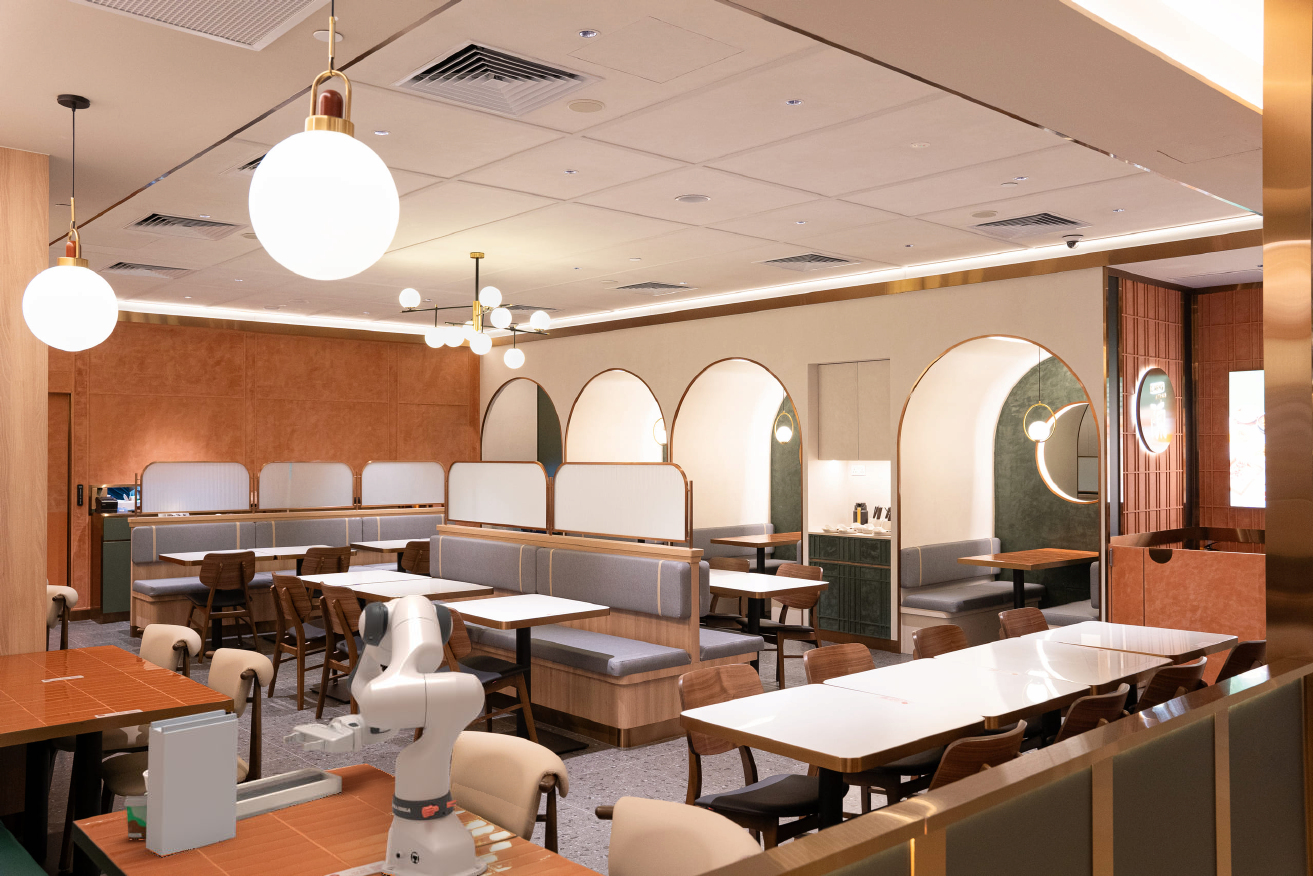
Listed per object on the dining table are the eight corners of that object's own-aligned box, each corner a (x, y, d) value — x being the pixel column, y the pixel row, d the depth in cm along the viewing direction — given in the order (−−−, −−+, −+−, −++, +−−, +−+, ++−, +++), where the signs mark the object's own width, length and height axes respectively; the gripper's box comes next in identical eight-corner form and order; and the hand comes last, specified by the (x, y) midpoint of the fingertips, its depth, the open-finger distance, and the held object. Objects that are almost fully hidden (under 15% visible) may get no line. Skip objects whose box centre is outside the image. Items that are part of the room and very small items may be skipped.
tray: (341, 793, 249) (341, 777, 249) (221, 825, 225) (221, 807, 226) (312, 782, 258) (313, 766, 258) (194, 811, 234) (195, 794, 235)
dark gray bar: (230, 795, 232) (230, 810, 232) (322, 773, 251) (321, 787, 250) (224, 792, 235) (223, 807, 235) (315, 770, 253) (314, 784, 253)
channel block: (235, 837, 218) (238, 714, 219) (161, 857, 206) (164, 728, 207) (219, 828, 223) (221, 709, 224) (145, 848, 211) (149, 721, 212)
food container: (144, 846, 212) (145, 799, 213) (122, 842, 214) (124, 796, 215) (188, 827, 224) (189, 783, 224) (167, 824, 226) (168, 780, 226)
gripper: (322, 715, 264) (273, 724, 254) (364, 727, 251) (315, 738, 240) (321, 738, 264) (273, 749, 253) (363, 752, 251) (314, 764, 240)
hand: (294, 744), depth 247 cm, fingers open, 8 cm apart
